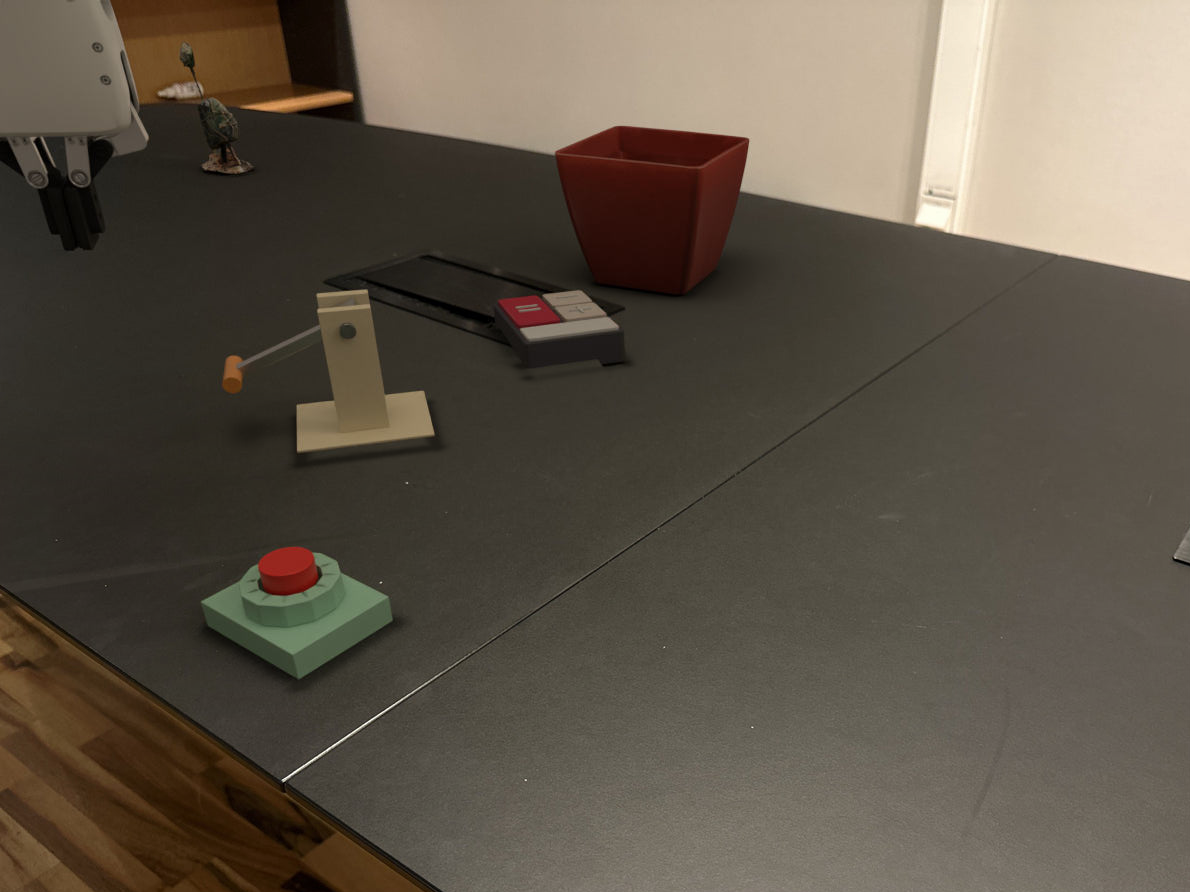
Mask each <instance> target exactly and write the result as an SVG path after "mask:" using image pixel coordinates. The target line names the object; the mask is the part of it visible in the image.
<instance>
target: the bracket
mask: <svg viewBox="0 0 1190 892" xmlns="http://www.w3.org/2000/svg"><path fill="white" fill-rule="evenodd" d="M351 298H354V300H355V302H356V303H357V305H355V306H343V307H335V306H337V305H339V304H341V303H343V302H345V301H347V300H349V299H351ZM316 302H317V306H318V308H317V310H316V313H317V317H318V323H319V325H320V329H321V334H322V339H323V340H322V344H323V349H324V355H325V359H326V365H327V369H328V375H329V376H328V377H329V379H330V386H331V390H332V397H333V400H327V401H318V402H309V403H299V404H296V453H297V454H301V453H309V452H316V451H317V452H318V451H325V450H334V449H342V448H349V447H350V448H351V447H357V446H366V445H373V444H382V443H389V442H390V443H391V442H399V441H406V440H412V439H413V440H414V439H423V438H430V437H435V436H436V435H435V430H434V427H433V423H432V419H431V414H430V410H429V406H428V402H427V398H426V393H425V391H424V390H417V391H416V390H415V391H407V392H398V393H391V394H385V388H384V382H383V375H382V369H381V364H380V357H379V352H378V345H377V340H376V339H377V338H376V333H375V327H374V326H375V325H374V321H373V314H372V309H371V304H370V297H369V291H368V289H356V290H355V289H354V290H344V291H343V290H342V291H332V292H321V293H319V292H318V293H316Z"/></svg>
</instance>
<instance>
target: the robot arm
mask: <svg viewBox="0 0 1190 892" xmlns="http://www.w3.org/2000/svg"><path fill="white" fill-rule="evenodd" d="M118 23H119V22H118V20H117V16H116V15H115V11H114V8H113V6H112V2H111V0H0V162H2V163H3V164H5V165H6V166H7V167H8V168H10V169H11V170H12V171H14V172H16V173H17V174H18V175H20V176H21V177H23V178H24V179H25V180H26V182H27V183H28V185H30V186H31V187H32V188H34V189H37V194H38V197H39V200H40V203H41V207H42V211H43V213H44V217H45V221H46V224H47V228H48V230H49V233H50V234H51V235H52V236H55V235H56V236H57V235H59V237H60V241H61V245H62V248H63V250H64V251H65V252H74V251H76V249H78V248H79V249H82V250H83V251H93V250H94V248H95V246H96V244H97V243H98V241H99V239H100V234H104V233H105V232H106V221H105V218H104V214H103V209H102V206H101V203H100V199H99V195H98V191H97V187H96V184H95V180H94V179H95V178H96V176H98V175H99V173H100V172H101V170H102V169H103V168H104V167H105V165H107V163H108V162H109V161H110V159H112V158H115V157H116V158H117V157H122V156H126V155H129V154H130V155H131V154H133V153H137V152H142V151H144V150H145V149H146V148H147V146H148V145H149V143H150V136H149V134H148V132H147V130H146V128H145V126H144V124H143V122H142V120H141V118H140V117H139V113H140V100H139V95H138V90H137V86H136V82H135V78H134V75H133V71H132V68H131V64H130V61H129V57H128V53H127V50H126V46H125V43H124V39H123V37H122V33H121V30H120V27H119V24H118ZM50 137H52V138H57V137H58V138H61V137H63V139H64V146H65V147H64V148H65V156H66V163H67V165H66V166H67V174H66V176H62V173H61V170H60V169H58V168H57V166H56V163H55V161H54V159H53V156H52V155H51V152H50V150H49V148H48V146H47V144H46V141H45V139H44V138H50Z"/></svg>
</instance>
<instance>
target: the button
mask: <svg viewBox="0 0 1190 892" xmlns="http://www.w3.org/2000/svg"><path fill="white" fill-rule="evenodd" d="M313 553H314V552H312V551H311V550H309V549H308V548H305V547H300V546H286V547H281V548H278V549H275V550H272V551H270V552H268V553H267V554H265V555H263V556H262V557H261V558H260V560H259V561H258V563H257V564H258V569H259V573H260V577H261V581H262V585H263V588H264V590H265V591H266V592H267V593H269V594H271V595H277V596H288V595H292V594H297V593H301V592H304V591H306V590H308V589H309V588H311V587H313V586H314V585H315V584H316V582H317V580H318V572H317V568H316V563H315V559H314V555H313Z"/></svg>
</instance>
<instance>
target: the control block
mask: <svg viewBox="0 0 1190 892" xmlns="http://www.w3.org/2000/svg"><path fill="white" fill-rule="evenodd" d="M312 553H313V555H314V559H315V563H316V568H317V572H318V580H317V582H316V584H315V585H314V586H313V587H311V588H309V589H308V590H306V591H304V592H301V593H297V594H292V595H288V596H277V595H271V594H269V593H267V592H266V591H265V590H264V588H263V585H262V581H261V577H260V573H259V569H258V564H259V563H257V564H255V565H253V566H251V567H250V568H249V569H248V570H247V571H246V572H245V574H244V575H243V576H242V578H241V579H240V580H239V581H237V582H235V583H233V584H232V585H229V586H227V587H226V588H224V589H221V590H220V591H218V592H216V593H214V594H212V595H211V596H209V597H207V598H204V599H203V600H201V601H200V605H201V608H202V611H203V615H204V618H205V622H206V624H207V627H209V628H211V629H213V630H214V631H216V632H218V633H219V634H221V635H222V636H224V637H226V638H227V639H229V640H231V641H233V642H234V643H237V644H238V645H239V646H241V647H243V648H245V649H246V650H248V651H249V652H252V653H253V654H254V655H256V656H258V657H260V658H262V659H263V660H265V661H266V662H268V663H269V664H272V666H275V667H277V668H278V669H280V670H282V671H283V672H285V673H287V674H288V675H290V676H292V677H293V678H295V679H297V680H301V679H302V678H304V677H305V676H306V675H308V674H310V673H312V672H313V671H314V670H316V669H318V668H320V667H322V666H323V665H324V664H326V663H327V662H329V661H331V660H333V659H334V658H335V657H337V656H339V655H340V654H342V653H343V652H345V651H347V650H348V649H350V648H352V647H353V646H355V645H356V644H358V643H360V642H361V641H362V640H364V639H365V638H367V637H370V635H372V634H374V633H375V632H377V631H379V630H380V629H382V628H383V627H385V626H387V625H388V624H390V623H391V622H393V620H394V619H393V613H392V607H391V603H390V597H389V596H388V595H386V594H384V593H382V592H380V591H378V590H376V589H374V588H372V587H370V586H368V585H366V584H364V583H362V582H360V581H358V580H356V579H354V578H352V577H351V576H348V575H347V574H345V573H342V572H341V569H340V566H339V563H338V560H336V559H334V558H332V557H329V556H327V555H326V554H323V553H321V552H312Z"/></svg>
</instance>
